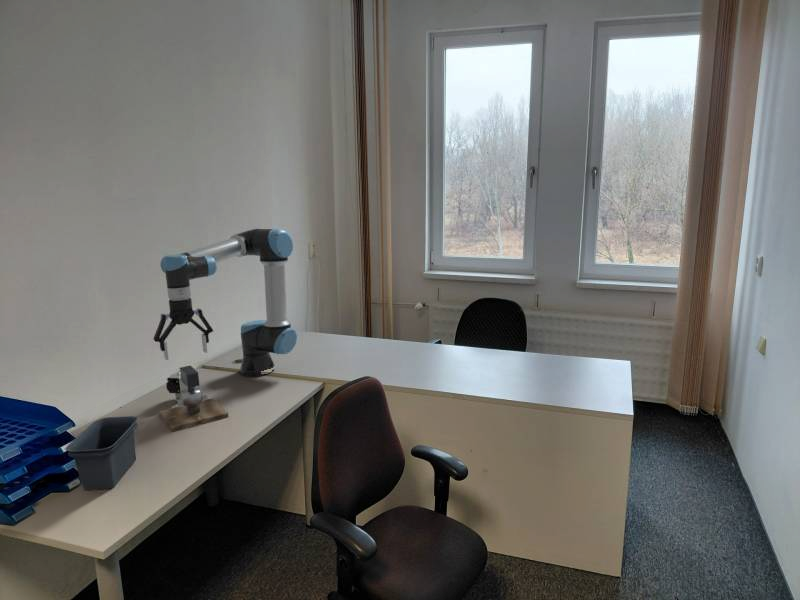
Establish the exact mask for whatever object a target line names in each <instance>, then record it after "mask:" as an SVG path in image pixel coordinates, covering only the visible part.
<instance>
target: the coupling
mask: <svg viewBox="0 0 800 600" xmlns="http://www.w3.org/2000/svg"><path fill="white" fill-rule="evenodd" d="M179 371H180V375H181V381H182V382H183V383H184V384H185V385H186V386H187V388H186V389H184V390H182V391H181V396H182V400H178V401H176V402H177V405H178V406H177V407H179V406H183V405H184V406H195V405H198V404H200V403H202V401H203V400H207V399H208V396H207V394H206V393H204V394H203V393H202V392H203V391H202V388H201V387H199V386H201V385H200V377H199V372H198V371H197V370H196V369H195V368H194V367H193V366H192V365H187V366H182V367H179Z"/></svg>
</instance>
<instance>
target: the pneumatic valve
mask: <svg viewBox="0 0 800 600" xmlns="http://www.w3.org/2000/svg"><path fill="white" fill-rule="evenodd" d="M166 380H167V382H166V383H165V385H166V390H167V391H168V393H169V394H174V396H175V401H176V402H177V401H178V400H182V396H181V391H182V390H184V389H186V388H187V386H186V385H185V384H184V383H183V382H182V381H181V375H180V370H179V371H177V372H175V373H172V374H170V376H168V377H167V379H166Z"/></svg>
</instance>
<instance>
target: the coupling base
mask: <svg viewBox="0 0 800 600" xmlns="http://www.w3.org/2000/svg"><path fill="white" fill-rule="evenodd" d="M159 414H160V416H161V418H162V419H163V421H164V422H165V424H166V425H167V427H168V426H169V427H168V428H169V430H170V429H171V430H170V431H171V432H176V430H177V431H179V430H184V429H187V427H188V428H191V426H192V427H195V426H197V425H198V424H199V425H203V424H206V423H210V422H213V421H218V420H222V419H224V418H228V417H229V412H228V411H227V410H226V409H225V408H224V406H222V405H221V403H219V402H218V401H217V400H216V399H215V398H214V397H211V398H207V399H206V400H202V403H200V404H198V405H195V406H184V405H181V406H175V407H171V408H166V409H163V410H160V411H159ZM217 419H218V420H217ZM202 423H203V424H202ZM194 425H195V426H194ZM199 425H198V426H199ZM183 428H184V429H183Z"/></svg>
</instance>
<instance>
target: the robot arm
mask: <svg viewBox="0 0 800 600" xmlns="http://www.w3.org/2000/svg"><path fill="white" fill-rule="evenodd" d="M293 251H294V242H293V239H292V237H291V235H290V234H289V233H288V232H287V231H286V230H284V229H278V228H253V229H249V230H246V231H241V232H239V233H236V234H233V235H231V236H230V237H229V238H228V239H225V240H222V241H218V242H216V243H212V244H209V245H206V246H201V247H198V248H195V249H191V250H189V251H185V252H182V253H178V254H177V253H176V254H167V255H165V256H163V257H162V258H161V261H160V268H161V271H162V272H163V273H164V274H165V280H166V287H167V289H166V290H167V298H168V299H169V300H168V305H169V313H167V314H165V313H161V314H160V320H159V323H158V327H157V329H156V331H155V333H154V337H153V341H154V342H157V343H159V347H160V348H159V349H160V351H161V352H163V354H164V355H163V357H164V359H165V360H166V361H169V360H170V359H169V351H168V343H167V341H166V339H167V338H168V337H169V335H170V334H171V332H172V330H173V329H174V328H175V327H176V326H177V325H179V326H180V325H184V324H185V325H186V324H188V323H191V324H192V325H193V326H195V327H196V328H197V329H199V330H200V331H201V333H202V334H201V341H202V351H203V353H205V354H206V353H208V346H207V344H209V342H210V337H209V336H210V334H211V333H213V332H214V329H213V328H212V326H211V325H210V323H209V322H208V321H207V319H206V317H205V316H204V315H203V310H202V309H201V308H199V307H198V308H196V309H193V302H192V298H191V297H192V294H191V293H192V292H191V283H190V281H191V280H194V279H199V278H200V279H201V278H205V277H206V278H208V277H210V276H213V275H214V274H215V273H216V272H217V268H218V267H217V263H219V262H222V261H226V260H229V259H231V258H234V257H237V258H242V257H246V256H255V257H257V256H258V257H259V262H260V263H261V264H262V265H263V274H264V291H265V293H264V294H265V295H264V296H265V310H266V311H265V312H266V313H265V314H266V319H259V320H252V321H249V322H244V323H243V324H242V325H240V339H241V348H242V361H241V364H240V374H241V375H242V376H245V377H260V376H261V375H262V374H261V371H264V370H267V369H271V368H273V367H274V366H275V363H274V360H273V358H272V355H271V354H276V355H287V354H289V353H291V351H293V350H294V348H295V346H296V345H297V338H298V335H297V332H296V330H295V329H294V328H292V326H291V325H292V324H291V323H292V322H291V321H290V320H289V319H288V317H287V316H288V313H287V296H286V295H287V293H286V292H287V290H286V271H285V269H286V268H285V265H286V264H287V262H288V260H289V257H290V256H291V255H292V252H293ZM194 315H196V316H198V318H199V320H200V321H201V322H202V324H203V325H204V327H205V328H206V329H205V328H204V327H203V326H202V325H200V324H199V323H198V322H197V321H196V320H194V319H193V317H194ZM168 319H170V322H169V323H168V324H169V325H168V326H167V327H166V329H165V330H164V328H165V325H166V321H167V320H168ZM163 330H164V331H163ZM162 332H163V333H162ZM270 353H271V354H270ZM262 376H263V375H262Z"/></svg>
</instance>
